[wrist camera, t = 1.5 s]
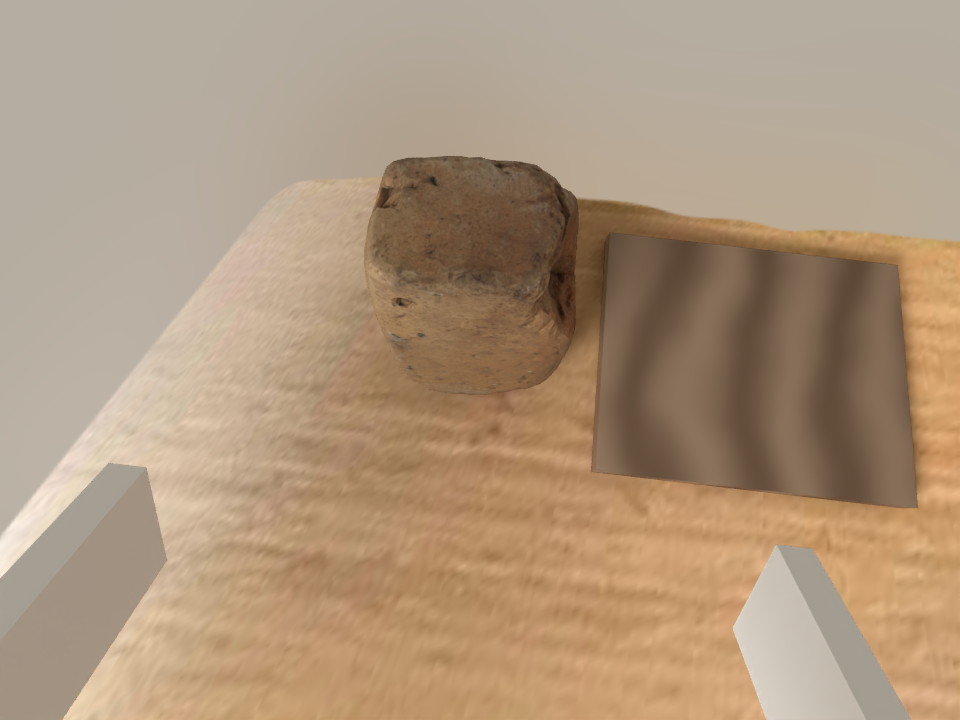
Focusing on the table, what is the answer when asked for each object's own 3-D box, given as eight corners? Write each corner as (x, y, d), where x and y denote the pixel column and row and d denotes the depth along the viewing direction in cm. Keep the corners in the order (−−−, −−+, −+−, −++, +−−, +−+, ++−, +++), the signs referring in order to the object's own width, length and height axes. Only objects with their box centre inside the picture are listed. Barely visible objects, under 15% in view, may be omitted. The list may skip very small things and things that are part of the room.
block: (398, 391, 42) (341, 287, 23) (411, 295, 44) (368, 124, 25) (546, 405, 42) (614, 313, 23) (553, 309, 44) (620, 148, 25)
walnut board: (884, 273, 45) (897, 265, 44) (901, 508, 41) (917, 507, 39) (605, 241, 46) (609, 232, 44) (591, 471, 41) (595, 470, 39)
